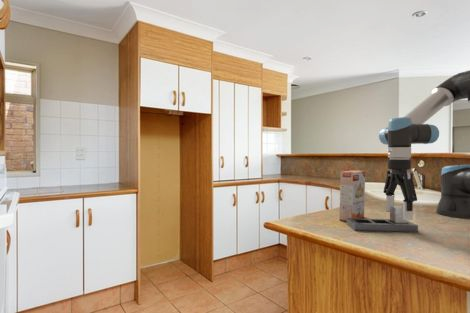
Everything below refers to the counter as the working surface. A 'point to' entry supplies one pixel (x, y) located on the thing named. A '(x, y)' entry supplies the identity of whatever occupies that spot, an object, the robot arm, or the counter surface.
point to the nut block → (397, 215)
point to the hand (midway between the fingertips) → (398, 215)
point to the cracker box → (352, 194)
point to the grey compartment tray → (380, 225)
